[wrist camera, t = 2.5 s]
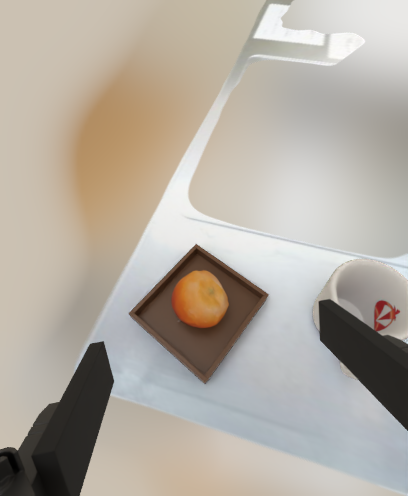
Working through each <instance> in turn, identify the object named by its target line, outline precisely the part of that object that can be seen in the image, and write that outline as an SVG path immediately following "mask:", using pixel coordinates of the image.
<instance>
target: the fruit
mask: <svg viewBox="0 0 408 496" xmlns="http://www.w3.org/2000/svg"><path fill="white" fill-rule="evenodd" d="M171 303H172V308H173V310H174V312H175V314H176V315H177V317H178V318H179V320H178V322H180V321H182V322H184V323H185V324H187V325H190V326H193V327H197V328H208V327H212V326H214V325H216V324H218V322H220V320H221V319H222V318H223V316H224V315H225V313H226V311H227V308H228V306H229V302H228V297H227V295H226V293H225V291H224V289H223V287H222V285H221V284H220V282H219V280H218V279H217V278H216V277H215V276H214V275H213V274H211V273H210V272H208V271H204V270H203V271H193V272H191V273H189V274H188V275H186V276H185V277H184V278H182V279H181V280H180V281H179V282H178V283H177V285H176V286H175V288H174V291H173V293H172V297H171Z"/></svg>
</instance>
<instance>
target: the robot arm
mask: <svg viewBox="0 0 408 496" xmlns="http://www.w3.org/2000/svg"><path fill="white" fill-rule="evenodd" d="M318 303H319V326H320V341H321V342H322V343H323V344H324V345H325V346H326V347H327V348H328V349H329V350H330V351H331V352H332V353H333V354H334V355H335V356H336V357H337V358H338V359H339V360H340V361H341V362H342V363H343V364H344V365H345V366H346V367H347V368H348V370H349V371H350V372H351V373H352V374H353V375H354V376H355V377H356V378H357V379H358V380H359V381H360V382H361V383H362V384H363V385H364V386H365V387H366V388H367V389H368V390H369V391H370V392H371V393H372V394H373V395H374V396H375V397H376V399H377V400H378V401H379V402H380V403H381V404H382V405H383V406H384V407H385V408H386V409H387V410H388V411H389V412H390V413H391V414H392V415H393V416H394V417H395V418H396V419H397V420H398V421H399V422H400V423H401V424H402V425H403V426H404V427H405V429H406V430H407V431H408V344H406V343H405V342H403V341H402V340H400V339H398V338H395V337H393V336H390V335H383V336H382V335H381V334H379V333H378V332H377V331H375V330H374V329H372V328H371V327H369V326H368V325H367V324H365V323H364V322H362V321H361V320H360V319H358V318H357V317H355V316H354V315H352V314H351V313H350V312H348V311H347V310H345V309H344V308H343V307H341V306H340V305H338V304H337V303H335V302H334V301H333V300H331V299H326V300H321V301H318ZM113 383H114V379H113V375H112V372H111V368H110V364H109V360H108V356H107V352H106V349H105V345H104V341H103V342H97V343H92V344H90V345H89V347H88V349H87V351H86V353H85V355H84V357H83V358H82V360H81V362H80V364H79V366H78V368H77V370H76V372H75V374H74V375H73V377H72V379H71V381H70V383H69V385H68V387H67V389H66V391H65V393H64V394H63V396H62V399H61V400H60V402H57V403H52V404H49V405H48V406H47V407H46V408H45V409H44V410H43V411H42V412H41V413H40V414H39V416H38V418H37V419H36V421H35V422H34V424H33V427H31V429H30V431H29V433H28V436H27V437H26V438H25V439H24V441H23V443H22V445H21V446H20V448H19V450H18V451H17V450H16V449H15V448H11V447H7V448H4V449H0V496H80V492H81V489H82V486H83V482H84V479H85V476H86V472H87V469H88V466H89V463H90V459H91V456H92V453H93V449H94V446H95V443H96V439H97V436H98V433H99V430H100V426H101V423H102V420H103V416H104V413H105V410H106V406H107V403H108V400H109V397H110V393H111V390H112V387H113Z"/></svg>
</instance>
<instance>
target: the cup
mask: <svg viewBox="0 0 408 496" xmlns="http://www.w3.org/2000/svg"><path fill="white" fill-rule="evenodd" d="M326 299H331V300H333V301H334V302H335V303H337V304H338V305H340V306H341V307H343V308H344V309H345V310H347V311H348V312H350V313H351V314H352V315H354V316H355V317H357V318H358V319H360V320H361V321H362V322H364V323H365V324H367V325H368V326H369V327H371V328H372V329H374V330H375V331H377V332H378V333H379V334H381V335H382V336H383V335H390V336H393V337H395V338H398V339H400V340H404V339H406V338H408V280H407V279H406V278H405V277H404V276H403V275H402V274H400V273H399V272H398V271H396V270H395V269H393V268H392V267H390V266H388V265H386V264H384V263H381V262H378V261H374V260H369V259H355V260H351V261H348V262H346V263H344V264H342V265H341V266H339V267H338V268H337V269H336V270H335V271H334V273H333V274H332V276H331V277H330V279H329V280H328V282H327V283H326V285H325V286H324V288H323V289H322V291H321V293H320V294H319V296H318V297H317V299H316V301H315V303H314V306H313V319H314V323H315V325H316V327H317V329H318V331H319V332H320V326H319V303H318V301H321V300H326ZM340 366H341V370H342V372H343V373H344V374H345V375H346V376H348V377H350V378H353V379H357V378H356V377H355V376H354V375H353V374H352V373H351V372H350V371H349V370H348V368H347V367H346V366H345V365H344V364H343V363H342V362H341V361H340ZM357 380H358V379H357Z"/></svg>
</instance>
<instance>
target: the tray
mask: <svg viewBox="0 0 408 496" xmlns="http://www.w3.org/2000/svg"><path fill="white" fill-rule="evenodd" d="M203 270H204V271H208V272H210V273H211V274H213V275H214V276H215V277H216V278H217V279H218V280H219V282H220V284H221V285H222V287H223V289H224V291H225V293H226V295H227V297H228V302H229V306H228V308H227V311H226V313H225V315H224V316H223V318H222V319H221V320H220V322H218V324H216V325H214V326H212V327H208V328H197V327H193V326H190V325H187V324H185V323H184V322H182V321H180V322H178V320H179V318H178V317H177V315H176V314H175V312H174V310H173V308H172V303H171V297H172V293H173V291H174V288H175V286H176V285H177V283H178V282H179V281H180V280H181V279H182V278H184V277H185V276H186V275H188V274H189V273H191V272H193V271H203ZM268 295H269V294H267V293H266V292H264V291H263V290H262V289H260V288H259V287H257V286H256V285H254V284H253V283H251V282H250V281H249V280H247V279H246V278H244V277H243V276H241V275H240V274H239V273H237V272H236V271H234V270H233V269H231V268H230V267H228V266H227V265H226V264H224V263H223V262H221V261H220V260H218V259H217V258H216V257H214V256H213V255H211V254H210V253H208V252H207V251H205V250H204V249H203V248H201V247H200V246H198V245H197V244H196V245H195V246H194V247H193V248H192V249H191V250H190V251H189V252H188V253H187V254H186V255H185V256H184V257H183V258H182V259H181V260H180V261H179V262H178V263H177V264H176V265H175V266H174V267H173V268H172V269H171V270H170V271H169V272H168V273H167V275H166V276H165V277H164V278H163V279H162V280H161V281H160V282H159V283H158V284H157V285H156V286H155V287H154V288H153V289H152V290H151V291H150V292H149V293H148V294H147V295H146V296H145V297H144V298H143V299H142V300H141V301H140V302H139V303H138V304H137V305H136V306H135V307H134V309H133V310H132V311H131V312H130V313H129V315H130V316H131V317H132V318H133V319H134V320H135V321H136V322H137V323H138V324H139V325H140V326H141V327H142V328H144V329H145V330H146V331H147V332H148V333H149V334H150V335H151V336H152V337H153V338H155V339H156V340H157V341H158V342H159V343H160V344H161V345H162V346H163V347H165V348H166V349H167V350H168V351H169V352H170V353H171V354H172V355H173V356H174V357H176V358H177V359H178V360H179V361H180V362H181V363H182V364H183V365H184V366H186V367H187V368H188V369H189V370H190V371H191V372H192V373H193V374H194V375H195V376H197V377H198V378H199V379H200V380H201V381H202V382H203V383H204V384H206V382H207V381H208V380H209V378H210V377H211V375H212V374H213V373H214V371H215V370H216V369H217V367H218V366H219V364H220V363H221V362H222V360H223V359H224V357H225V356H226V355H227V353H228V352H229V351H230V349H231V348H232V346H233V345H234V344H235V342H236V341H237V339H238V338H239V337H240V335H241V334H242V332H243V331H244V330H245V328H246V327H247V326H248V324H249V323H250V321H251V320H252V319H253V317H254V316H255V314H256V313H257V312H258V310H259V309H260V308H261V306H262V305H263V303H264V302H265V301H266V299H267V297H268Z"/></svg>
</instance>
